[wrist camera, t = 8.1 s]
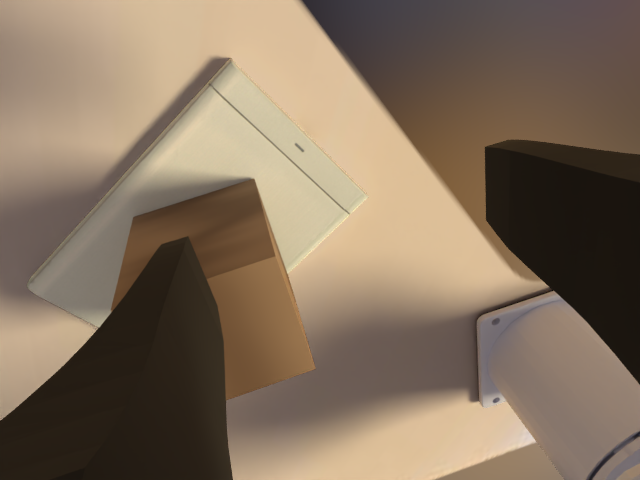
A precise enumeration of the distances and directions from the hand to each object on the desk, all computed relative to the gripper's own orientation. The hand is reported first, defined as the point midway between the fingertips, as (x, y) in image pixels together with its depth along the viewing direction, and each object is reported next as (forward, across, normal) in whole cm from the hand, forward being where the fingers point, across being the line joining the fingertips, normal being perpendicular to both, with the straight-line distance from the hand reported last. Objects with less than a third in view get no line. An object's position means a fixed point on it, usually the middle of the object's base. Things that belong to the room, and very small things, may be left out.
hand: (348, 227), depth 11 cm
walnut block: (+8, +4, +4) cm, 10 cm away
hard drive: (+10, +4, +4) cm, 12 cm away
